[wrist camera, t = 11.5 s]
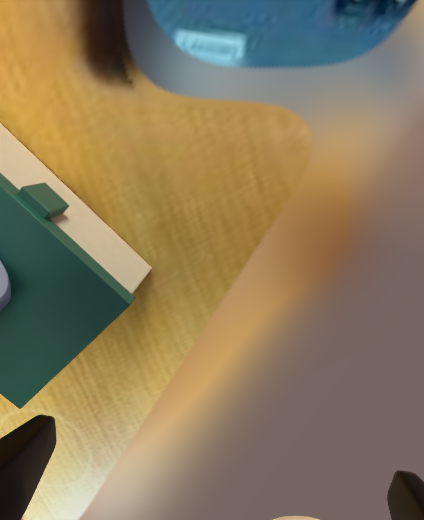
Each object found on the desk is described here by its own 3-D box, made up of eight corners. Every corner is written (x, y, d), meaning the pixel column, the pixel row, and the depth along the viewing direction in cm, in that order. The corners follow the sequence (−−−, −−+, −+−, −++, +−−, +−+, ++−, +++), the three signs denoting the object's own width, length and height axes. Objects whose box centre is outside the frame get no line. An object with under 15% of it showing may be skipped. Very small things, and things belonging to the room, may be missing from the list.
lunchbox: (162, 263, 20) (136, 298, 16) (62, 359, 23) (15, 413, 19) (-4, 103, 18) (-92, 88, 14) (-90, 230, 21) (-186, 255, 17)
